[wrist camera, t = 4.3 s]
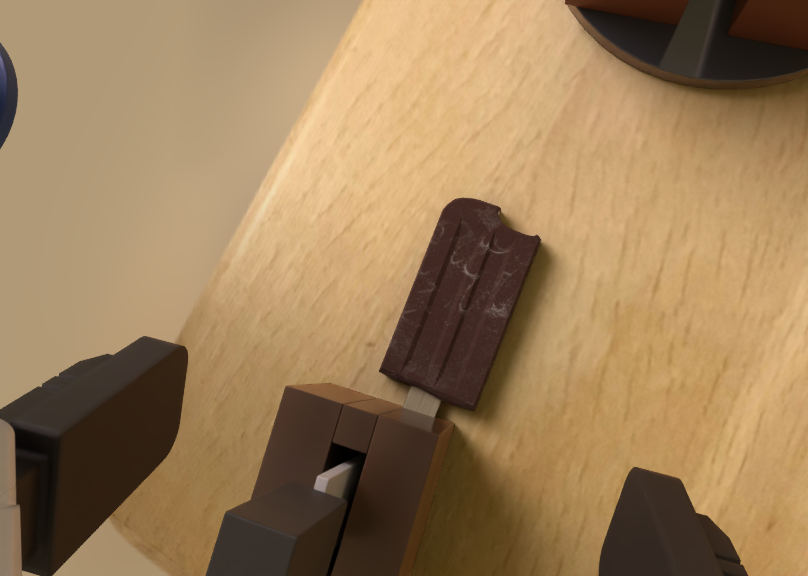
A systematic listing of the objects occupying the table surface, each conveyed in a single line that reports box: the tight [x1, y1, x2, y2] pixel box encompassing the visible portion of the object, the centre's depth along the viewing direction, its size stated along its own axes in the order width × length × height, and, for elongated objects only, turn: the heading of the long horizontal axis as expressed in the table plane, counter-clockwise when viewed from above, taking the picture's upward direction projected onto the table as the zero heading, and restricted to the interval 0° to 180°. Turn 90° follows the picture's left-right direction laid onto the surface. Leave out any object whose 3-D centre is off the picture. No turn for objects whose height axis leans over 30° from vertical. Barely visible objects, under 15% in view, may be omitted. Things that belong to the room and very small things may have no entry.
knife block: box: [251, 383, 454, 576], centre depth 32 cm, size 7×9×7 cm
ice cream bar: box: [379, 198, 541, 417], centre depth 36 cm, size 5×2×15 cm
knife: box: [206, 453, 367, 576], centre depth 28 cm, size 2×4×16 cm, turn 163°
